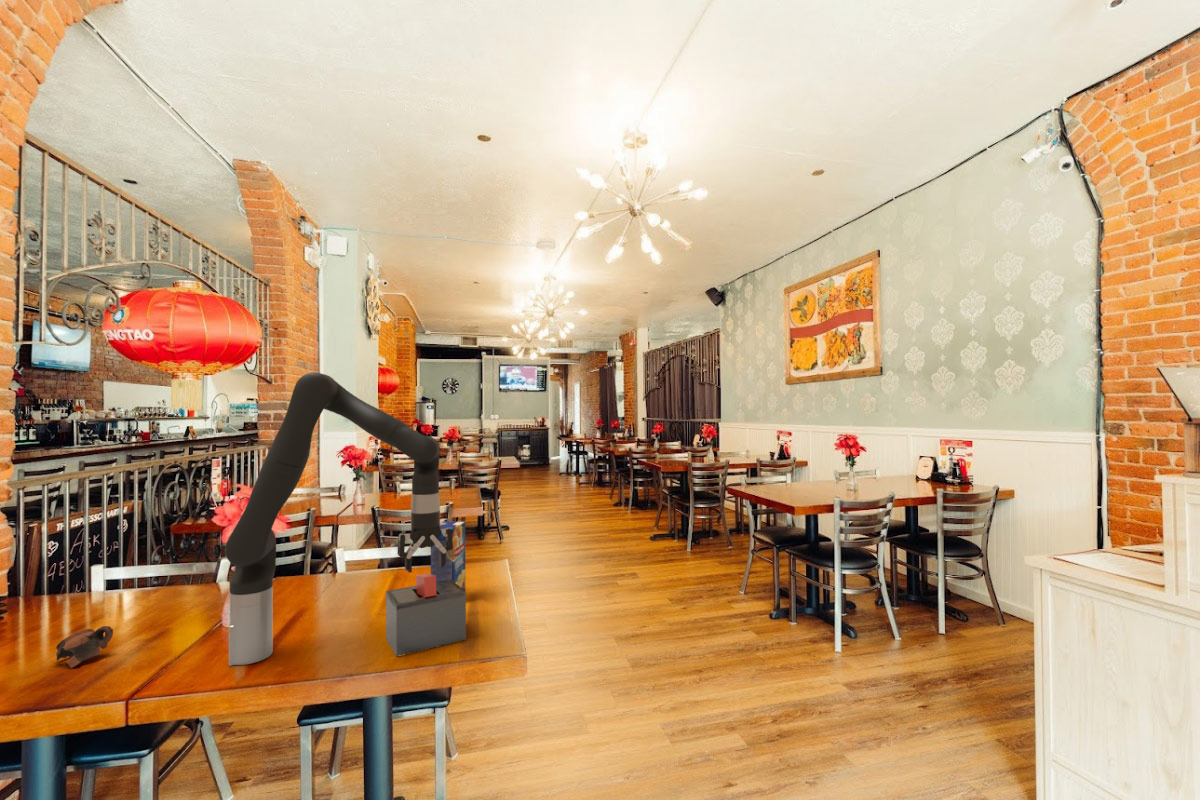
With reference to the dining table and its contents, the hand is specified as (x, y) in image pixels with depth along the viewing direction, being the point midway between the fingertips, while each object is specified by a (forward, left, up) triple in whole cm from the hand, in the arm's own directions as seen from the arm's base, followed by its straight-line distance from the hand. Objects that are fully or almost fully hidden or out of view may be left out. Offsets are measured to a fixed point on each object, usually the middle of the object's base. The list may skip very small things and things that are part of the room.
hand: (425, 569), depth 146 cm
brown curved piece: (-73, +33, -19) cm, 82 cm away
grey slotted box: (0, 0, -19) cm, 19 cm away
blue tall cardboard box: (+15, +29, -19) cm, 38 cm away
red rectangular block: (0, -5, -3) cm, 6 cm away
